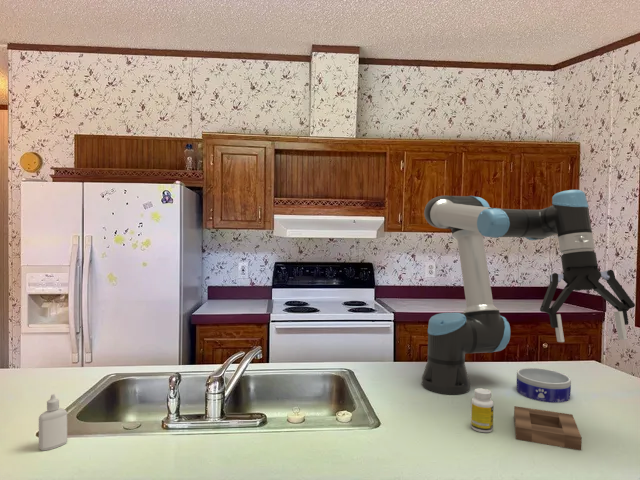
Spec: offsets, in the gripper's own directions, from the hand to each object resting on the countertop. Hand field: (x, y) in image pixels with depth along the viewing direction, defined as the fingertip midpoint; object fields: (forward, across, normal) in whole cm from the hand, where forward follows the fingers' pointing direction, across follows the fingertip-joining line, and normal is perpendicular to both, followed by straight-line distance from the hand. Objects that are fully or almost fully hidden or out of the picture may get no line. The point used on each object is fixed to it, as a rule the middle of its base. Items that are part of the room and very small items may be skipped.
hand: (591, 340), depth 106 cm
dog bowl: (+18, -2, +39) cm, 43 cm away
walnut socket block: (+23, -10, +11) cm, 27 cm away
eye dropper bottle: (+18, -126, -20) cm, 128 cm away
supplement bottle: (+22, -26, +10) cm, 35 cm away
